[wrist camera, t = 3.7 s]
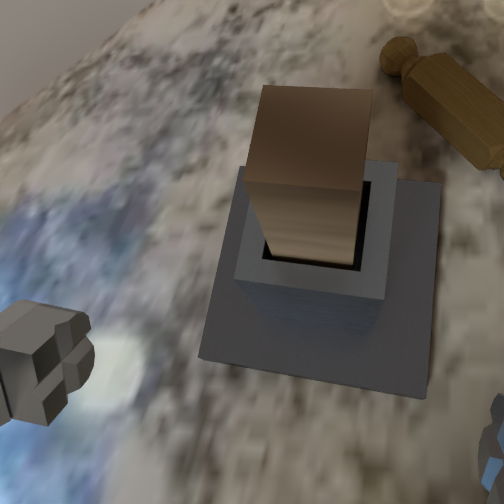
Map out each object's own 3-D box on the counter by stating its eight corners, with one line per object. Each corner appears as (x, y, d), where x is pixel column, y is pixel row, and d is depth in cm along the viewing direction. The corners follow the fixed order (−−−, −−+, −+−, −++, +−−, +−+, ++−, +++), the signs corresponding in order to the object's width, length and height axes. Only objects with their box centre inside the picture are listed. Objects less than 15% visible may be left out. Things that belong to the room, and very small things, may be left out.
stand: (421, 399, 29) (459, 389, 20) (203, 360, 32) (152, 336, 23) (437, 193, 33) (473, 109, 24) (243, 175, 36) (213, 95, 27)
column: (349, 302, 30) (361, 192, 15) (285, 292, 30) (240, 181, 16) (357, 241, 31) (374, 88, 17) (295, 234, 32) (262, 83, 18)
